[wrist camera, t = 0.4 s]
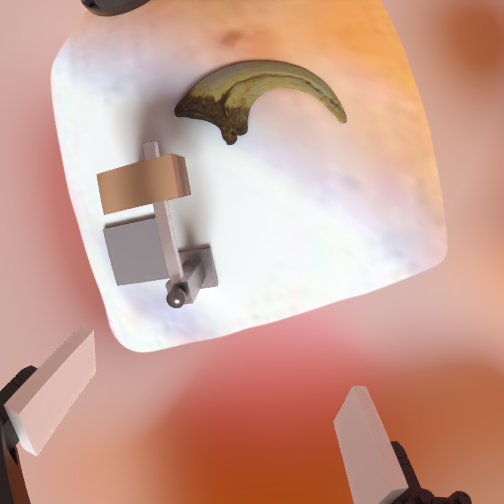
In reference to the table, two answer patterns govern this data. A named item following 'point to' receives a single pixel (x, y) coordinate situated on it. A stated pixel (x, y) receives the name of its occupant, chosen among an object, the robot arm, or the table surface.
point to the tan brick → (143, 183)
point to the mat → (136, 252)
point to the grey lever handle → (180, 254)
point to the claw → (248, 94)
